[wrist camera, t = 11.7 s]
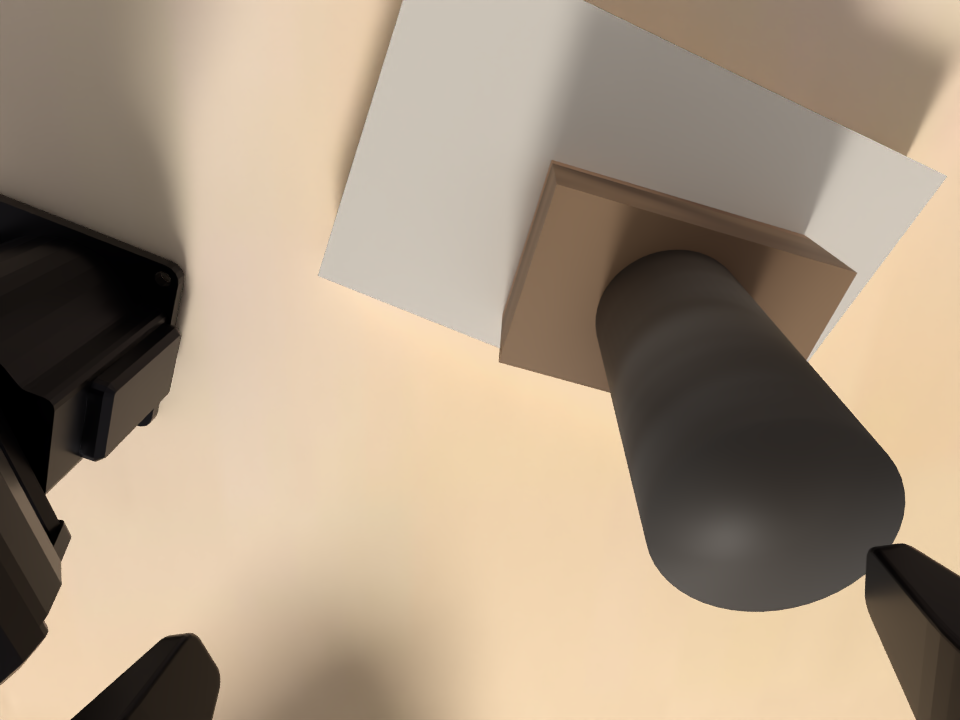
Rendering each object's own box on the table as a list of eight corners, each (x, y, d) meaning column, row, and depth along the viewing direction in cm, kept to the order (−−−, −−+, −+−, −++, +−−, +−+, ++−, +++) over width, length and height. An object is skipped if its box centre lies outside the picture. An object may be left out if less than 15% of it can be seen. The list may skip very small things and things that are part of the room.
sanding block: (502, 314, 18) (482, 577, 10) (551, 159, 16) (583, 308, 7) (729, 377, 19) (912, 683, 10) (805, 234, 17) (1118, 460, 8)
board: (335, 253, 20) (317, 276, 18) (436, -64, 16) (426, -76, 14) (726, 412, 22) (744, 446, 20) (904, 161, 18) (947, 176, 16)
